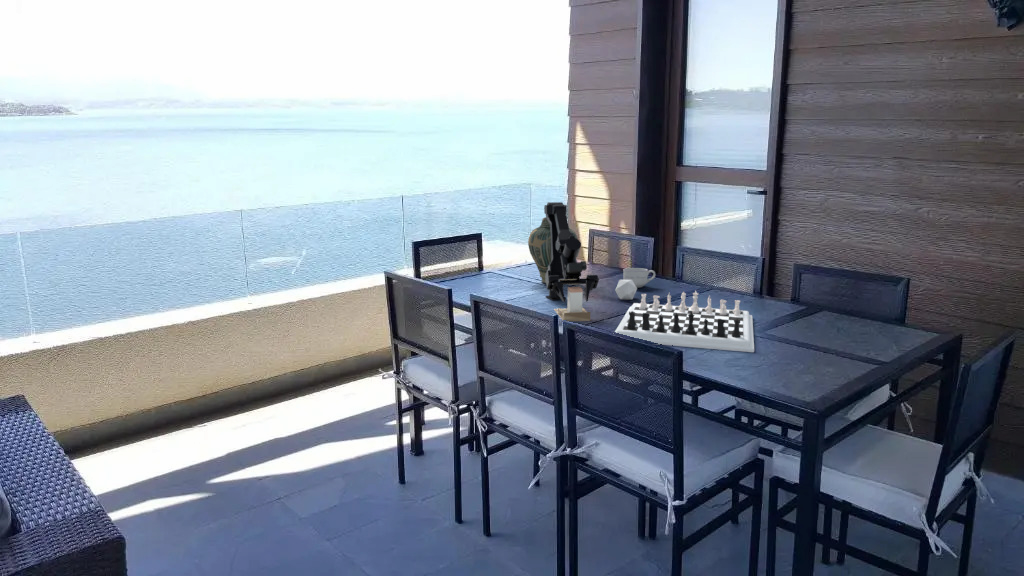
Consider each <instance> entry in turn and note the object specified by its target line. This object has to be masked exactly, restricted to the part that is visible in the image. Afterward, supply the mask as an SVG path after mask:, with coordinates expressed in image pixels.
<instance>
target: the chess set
mask: <svg viewBox="0 0 1024 576" xmlns="http://www.w3.org/2000/svg"><path fill="white" fill-rule="evenodd" d="M670 294H671V293H670V292H668V295H667V298H666V299H667V303H666V304H660V298H661V297H660V295H653V296H652V297H653V298H652V299H653V302H652V303H647V301H646V299H647V293H641V299H640V301H641V302H640V303H638V302H633V303H632V305H631V306H629V308H628V310H627V311H626V312H625V315H624V316H623V317H622V320H620V322H619V324H618V326H617V328H616V329H615V331H614V332H616V333H619V334H623V335H627V336H630V337H634V338H639V339H643V340H647V341H651V342H654V343H658V344H657V345H660V344H662V346H672V345H673V346H674V347H683V348H684V347H686V348H697V349H707V350H709V349H710V350H721V351H733V352H745V353H747V352H748V353H754V352H755V343H754V341H755V339H754V326H753V325H754V324H753V323H754V321H753V314H750V311H748V310H741V309H740V303H741V300H738V299H737V300H736V299H735V300H734V309H727V305H726V303H727V302H728V301H727V300H725V299H720V300H719V304H720V306H719V308H713V307H712V298H711V295H708V298H707V306H706V307H699V306H698V304H699V303H698V298H699V296H698V295H699V293H698V292H697V290H694V292H692V295H693V296H692V298H693V303H692V305H691V306H687V305H686V302H685V301H686V298H687V297H686V295H687V293H685V291H683V292H682V293H681V296H680V298H681V301H680V305H673V304H672V301H671V300H672V299H671V298H672V295H670ZM673 346H672V347H673Z"/></svg>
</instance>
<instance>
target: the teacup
mask: <svg viewBox="0 0 1024 576" xmlns="http://www.w3.org/2000/svg"><path fill="white" fill-rule="evenodd" d="M622 270H623V274H622V275H623V279H622V280H632V281H633V282H634V284H635V286H636V287H637V289H638V288H644V286H645V285H647V284H649V282H650V281H652V280H653V279H655V277H656V271H655V270H652V269H651V270H649V269H647V268H643V267H642V268H641V267H628V268H627V267H626V268H623V269H622ZM650 273H652V276H651V277H650V278H648V276H649V274H650Z"/></svg>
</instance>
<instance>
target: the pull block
mask: <svg viewBox="0 0 1024 576" xmlns="http://www.w3.org/2000/svg"><path fill="white" fill-rule="evenodd" d="M583 289H584V288H582V287H581V286H568V287H567V307H566V309H567V313H568V312H582V308H583V293H584V292H583V291H584V290H583Z"/></svg>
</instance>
